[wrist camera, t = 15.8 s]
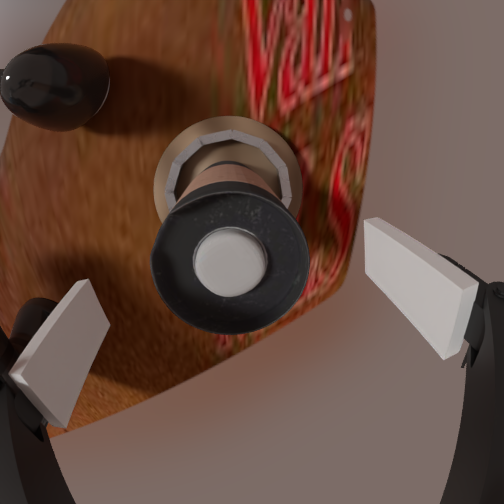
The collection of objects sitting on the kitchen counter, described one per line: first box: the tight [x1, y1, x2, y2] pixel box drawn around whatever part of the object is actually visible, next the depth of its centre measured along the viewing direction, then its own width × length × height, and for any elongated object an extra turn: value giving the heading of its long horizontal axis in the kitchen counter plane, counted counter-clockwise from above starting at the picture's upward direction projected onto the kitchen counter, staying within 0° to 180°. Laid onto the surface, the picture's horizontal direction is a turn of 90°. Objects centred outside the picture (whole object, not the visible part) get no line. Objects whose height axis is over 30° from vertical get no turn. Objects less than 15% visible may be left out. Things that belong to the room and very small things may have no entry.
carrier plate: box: [154, 116, 303, 224], centre depth 31 cm, size 17×17×3 cm
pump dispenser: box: [0, 43, 110, 132], centre depth 19 cm, size 10×10×15 cm
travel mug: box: [150, 161, 310, 335], centre depth 22 cm, size 8×8×20 cm
